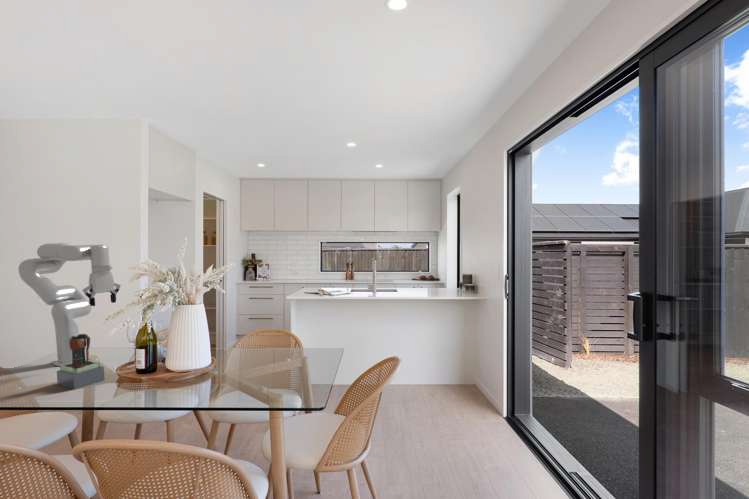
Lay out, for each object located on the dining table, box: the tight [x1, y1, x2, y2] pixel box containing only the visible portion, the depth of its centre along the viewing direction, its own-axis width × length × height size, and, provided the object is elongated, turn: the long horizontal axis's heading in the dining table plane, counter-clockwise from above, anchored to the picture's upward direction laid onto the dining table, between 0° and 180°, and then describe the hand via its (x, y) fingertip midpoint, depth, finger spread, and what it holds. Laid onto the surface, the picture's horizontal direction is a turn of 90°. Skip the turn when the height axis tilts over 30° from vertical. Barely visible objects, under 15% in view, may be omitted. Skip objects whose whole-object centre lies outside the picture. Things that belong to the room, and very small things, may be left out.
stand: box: [56, 359, 106, 390], centre depth 183 cm, size 14×12×8 cm
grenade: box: [69, 333, 91, 368], centre depth 183 cm, size 6×8×15 cm
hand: (103, 304), depth 208 cm, fingers open, 9 cm apart
